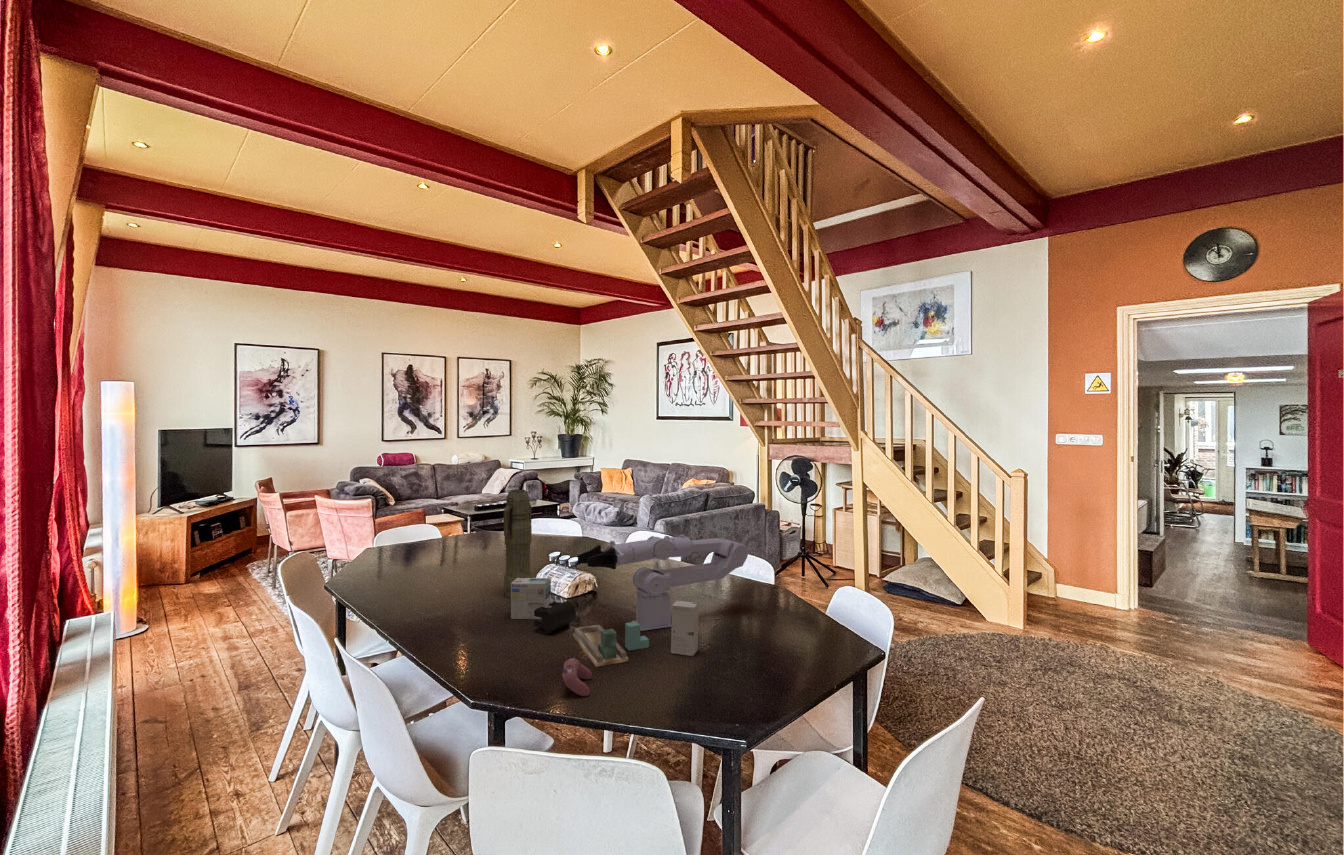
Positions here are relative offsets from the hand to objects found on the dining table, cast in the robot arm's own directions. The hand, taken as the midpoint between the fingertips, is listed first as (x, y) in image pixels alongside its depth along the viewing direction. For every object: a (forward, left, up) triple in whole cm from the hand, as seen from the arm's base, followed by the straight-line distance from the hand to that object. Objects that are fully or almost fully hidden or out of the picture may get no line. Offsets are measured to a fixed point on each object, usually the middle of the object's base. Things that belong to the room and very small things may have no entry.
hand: (582, 560), depth 160 cm
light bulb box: (+9, -24, -21) cm, 33 cm away
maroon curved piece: (+9, +29, -21) cm, 37 cm away
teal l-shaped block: (-11, +12, -21) cm, 26 cm away
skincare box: (-21, +20, -21) cm, 36 cm away
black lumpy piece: (+5, -10, -21) cm, 24 cm away
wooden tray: (-2, +9, -20) cm, 23 cm away
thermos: (+9, -48, -21) cm, 53 cm away
